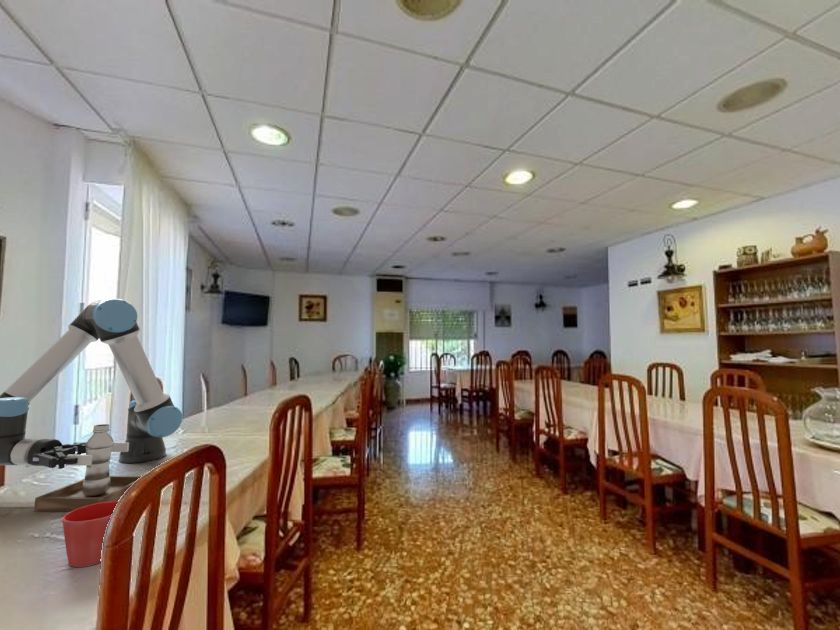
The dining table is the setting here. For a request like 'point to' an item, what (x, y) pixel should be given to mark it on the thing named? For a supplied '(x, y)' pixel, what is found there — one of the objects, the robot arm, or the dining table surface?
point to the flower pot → (86, 533)
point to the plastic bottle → (98, 462)
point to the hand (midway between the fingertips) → (110, 453)
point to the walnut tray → (81, 495)
